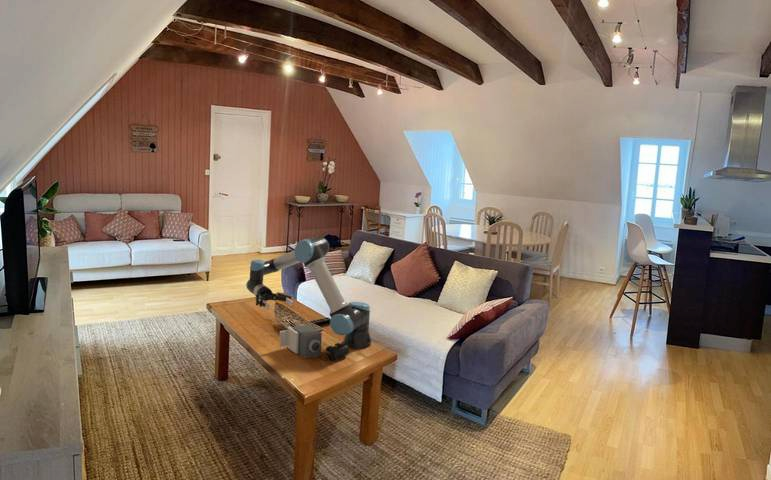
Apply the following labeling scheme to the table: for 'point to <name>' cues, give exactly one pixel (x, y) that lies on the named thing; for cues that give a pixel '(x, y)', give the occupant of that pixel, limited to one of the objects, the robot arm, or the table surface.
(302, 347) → the camera housing
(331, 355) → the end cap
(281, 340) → the side door
